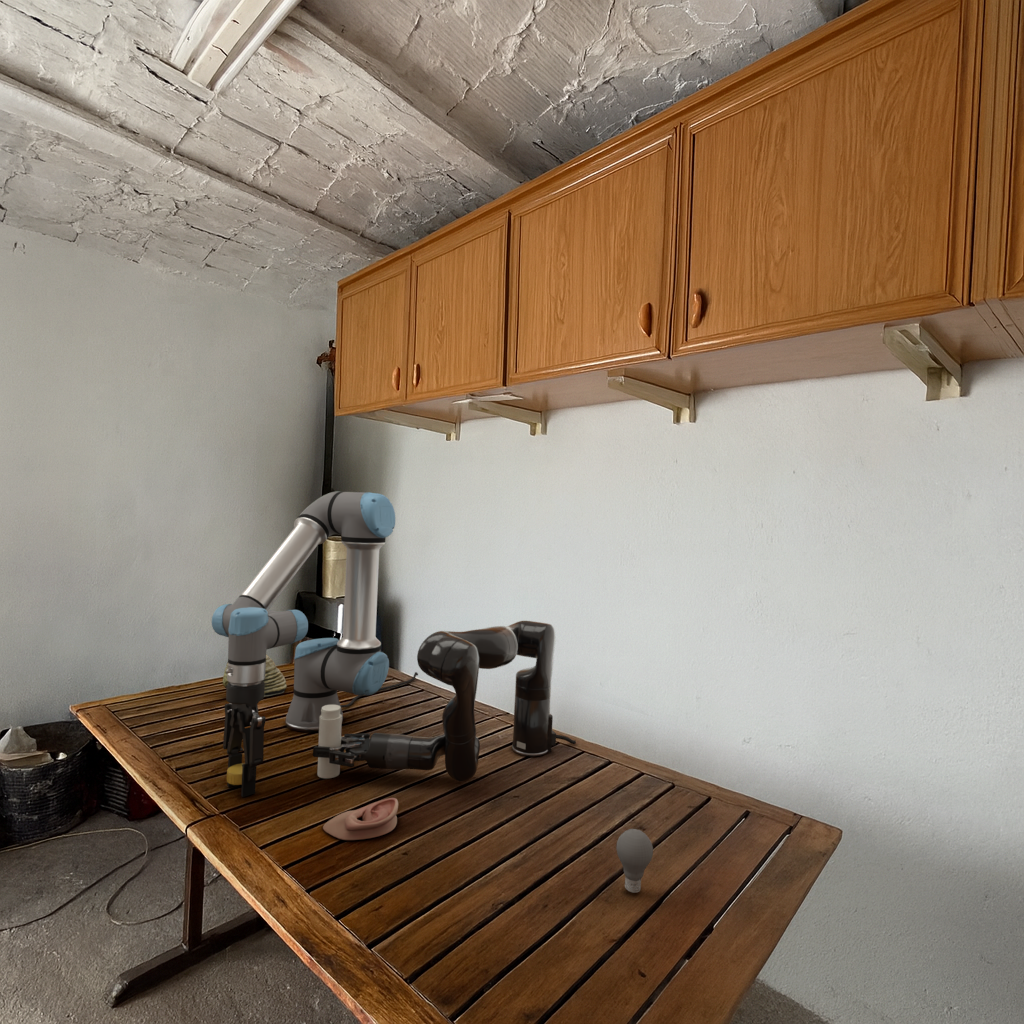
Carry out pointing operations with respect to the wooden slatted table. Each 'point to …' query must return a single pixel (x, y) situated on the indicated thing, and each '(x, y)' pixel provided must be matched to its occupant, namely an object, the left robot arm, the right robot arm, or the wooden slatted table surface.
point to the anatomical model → (364, 821)
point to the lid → (235, 774)
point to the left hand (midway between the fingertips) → (241, 789)
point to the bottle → (329, 738)
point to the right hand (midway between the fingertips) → (318, 746)
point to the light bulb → (634, 857)
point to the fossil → (268, 679)
